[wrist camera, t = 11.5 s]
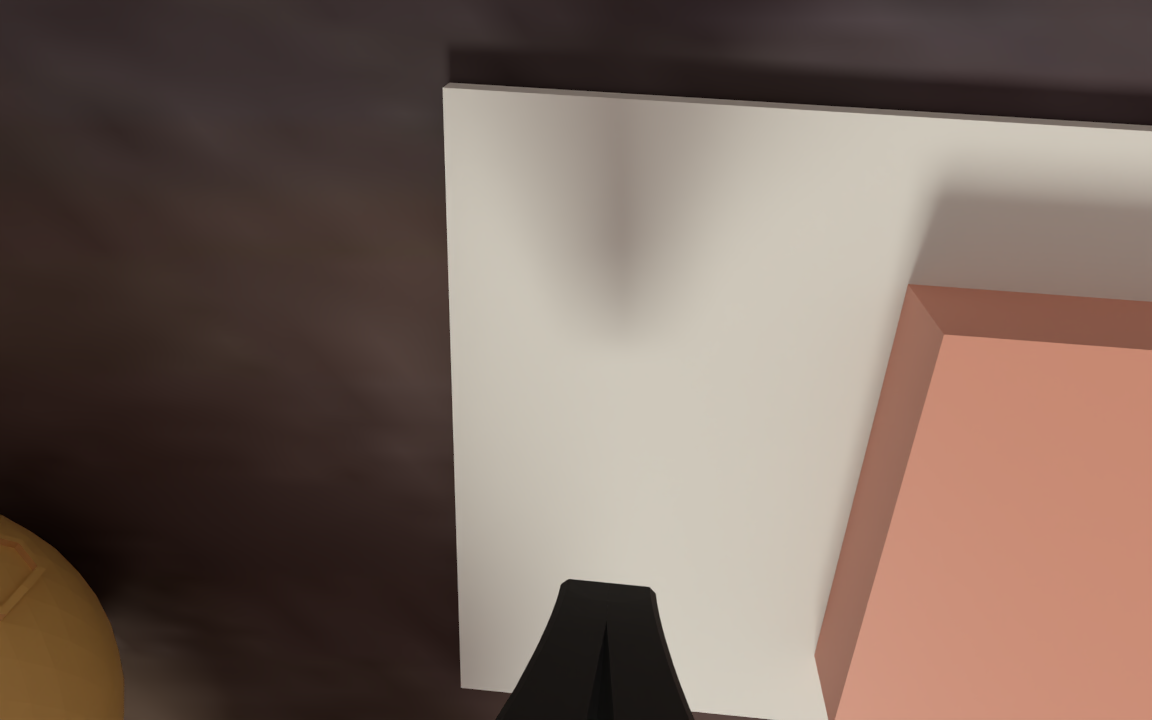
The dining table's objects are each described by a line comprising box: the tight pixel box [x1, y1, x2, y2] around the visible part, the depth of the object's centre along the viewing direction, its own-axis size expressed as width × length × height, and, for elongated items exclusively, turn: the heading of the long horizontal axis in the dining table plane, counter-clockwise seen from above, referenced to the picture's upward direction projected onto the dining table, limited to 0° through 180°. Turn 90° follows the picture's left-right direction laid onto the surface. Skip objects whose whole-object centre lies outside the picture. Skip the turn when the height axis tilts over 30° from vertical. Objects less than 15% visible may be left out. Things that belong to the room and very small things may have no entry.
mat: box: [443, 83, 1152, 720], centre depth 16 cm, size 14×14×1 cm
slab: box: [814, 284, 1152, 720], centre depth 15 cm, size 9×2×6 cm
